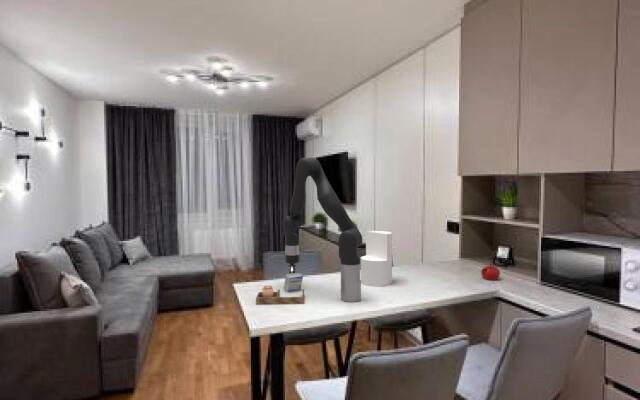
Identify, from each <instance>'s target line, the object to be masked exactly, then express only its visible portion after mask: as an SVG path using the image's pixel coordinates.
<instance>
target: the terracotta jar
mask: <svg viewBox="0 0 640 400" xmlns="http://www.w3.org/2000/svg"><path fill="white" fill-rule="evenodd" d="M261 292H262V295H263V297H273V292H274V287H273V286H272V285H264V286H263V287H262V291H261Z"/></svg>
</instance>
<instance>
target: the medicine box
mask: <svg viewBox="0 0 640 400" xmlns="http://www.w3.org/2000/svg"><path fill="white" fill-rule="evenodd" d="M303 277H304V276H303V274H302V273H301V272H296V273H292V274H289V273H285V278H284V285H283V289H284V290H285V293H289V292H290V293H291V292H296V291H302V284H303Z"/></svg>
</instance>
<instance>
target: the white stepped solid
mask: <svg viewBox="0 0 640 400" xmlns="http://www.w3.org/2000/svg"><path fill="white" fill-rule="evenodd" d="M365 232H366V233H365V255H363V256H360V280H361V285H363V286H367V287H375V288H376V287H378V288H379V287H380V288H381V287H387V286H391V285H393V232H391V231H386V230H366V231H365Z"/></svg>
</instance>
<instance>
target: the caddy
mask: <svg viewBox="0 0 640 400" xmlns="http://www.w3.org/2000/svg"><path fill="white" fill-rule="evenodd" d="M280 291H281V290H280V289H277V291H273V297H263V295H262V291H259V292H257V295H256V297H255V305H256V306H258V305H259V306H261V305H265V306H266V305H268V306H269V305H304V304H305V288H302V294H301V295H302V296H281V293H280Z"/></svg>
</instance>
